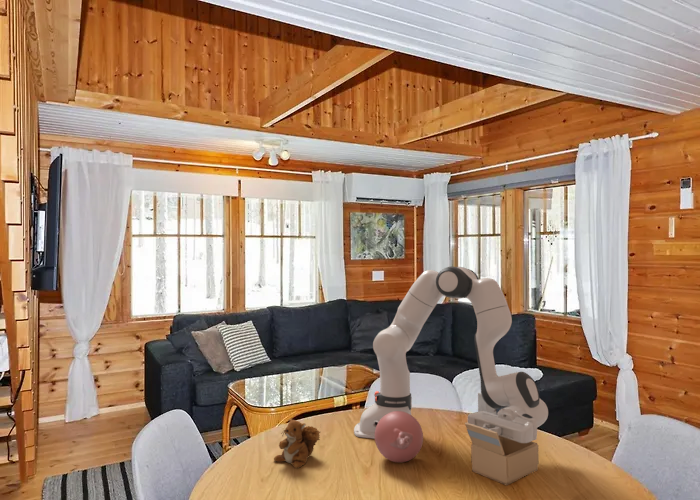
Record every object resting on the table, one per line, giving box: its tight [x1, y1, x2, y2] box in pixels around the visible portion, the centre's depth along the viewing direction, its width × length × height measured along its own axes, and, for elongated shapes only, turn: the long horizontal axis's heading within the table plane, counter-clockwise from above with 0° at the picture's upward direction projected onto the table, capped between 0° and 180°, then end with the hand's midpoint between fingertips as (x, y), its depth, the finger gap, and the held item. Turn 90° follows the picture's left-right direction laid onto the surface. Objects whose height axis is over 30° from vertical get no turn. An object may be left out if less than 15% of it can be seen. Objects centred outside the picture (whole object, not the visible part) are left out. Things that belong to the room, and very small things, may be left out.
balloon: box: [374, 411, 424, 464], centre depth 158 cm, size 15×20×15 cm
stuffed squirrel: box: [273, 418, 321, 469], centre depth 162 cm, size 10×14×13 cm
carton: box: [470, 436, 540, 486], centre depth 152 cm, size 16×13×8 cm
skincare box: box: [477, 391, 497, 415], centre depth 194 cm, size 6×4×12 cm
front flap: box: [464, 421, 505, 455], centre depth 146 cm, size 8×11×1 cm
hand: (483, 432), depth 146 cm, fingers closed, pressing on front flap
